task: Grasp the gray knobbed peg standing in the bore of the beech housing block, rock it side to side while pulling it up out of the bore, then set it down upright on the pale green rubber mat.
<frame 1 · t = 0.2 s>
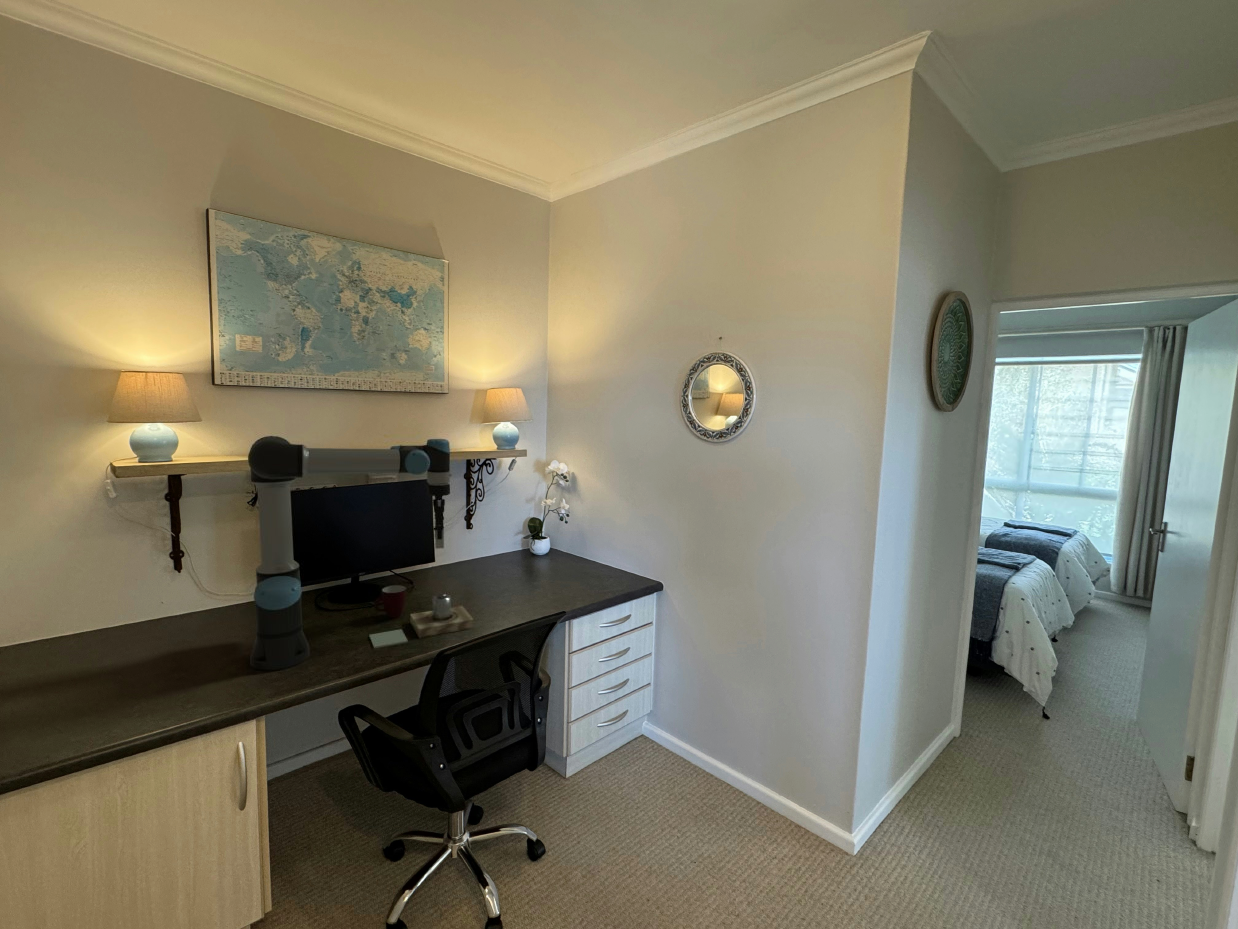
hand: (439, 543, 203), 27 cm above the table, fingers open, 13 cm apart
gray knobbed peg: (441, 610, 198), in the housing
housing: (441, 625, 198), on the table
mat: (388, 639, 186), on the table
mug: (390, 617, 204), on the table
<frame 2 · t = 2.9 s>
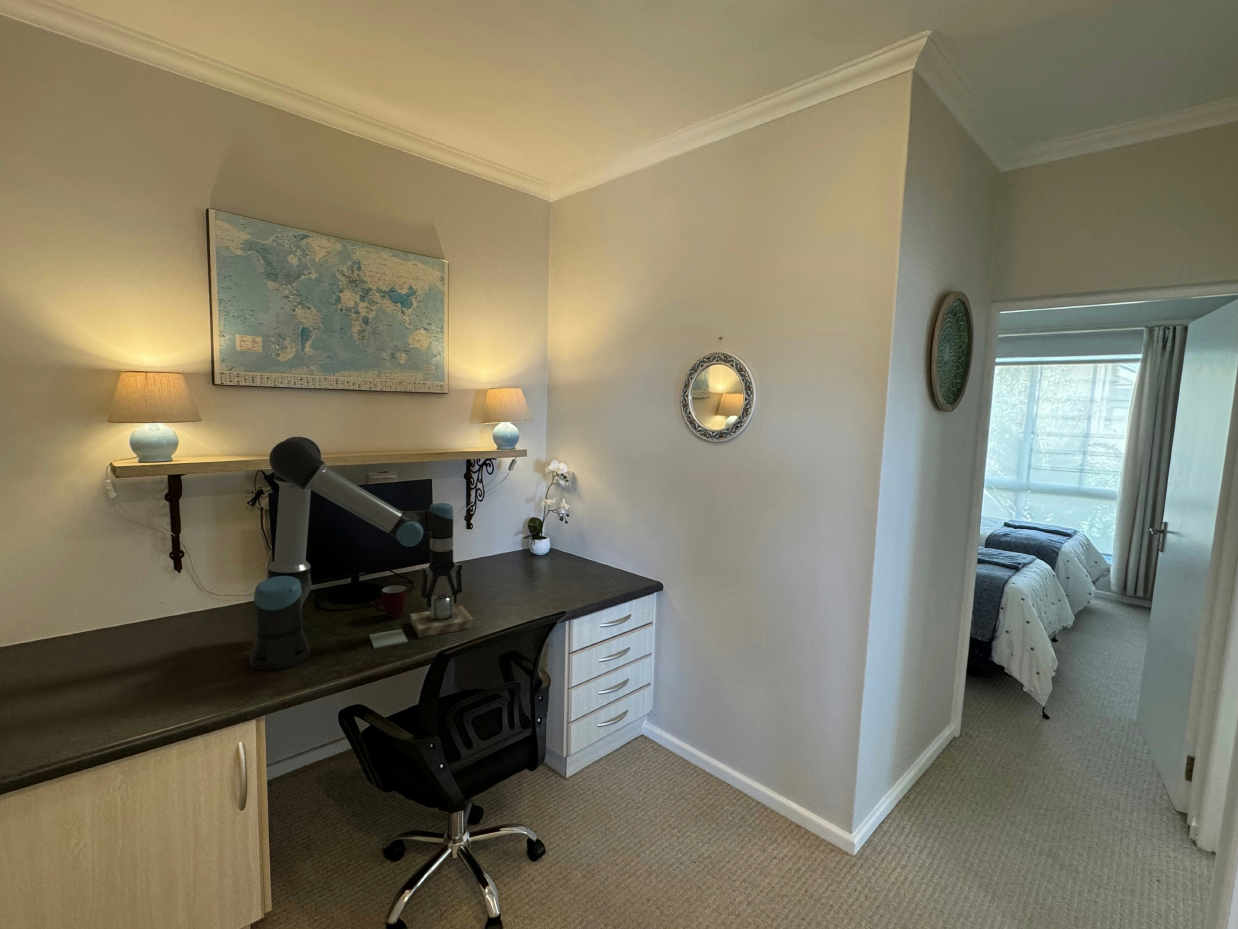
hand: (441, 614, 198), 4 cm above the table, fingers closed on gray knobbed peg, 6 cm apart
gray knobbed peg: (441, 609, 198), in the housing, touching gripper
everything else where it was.
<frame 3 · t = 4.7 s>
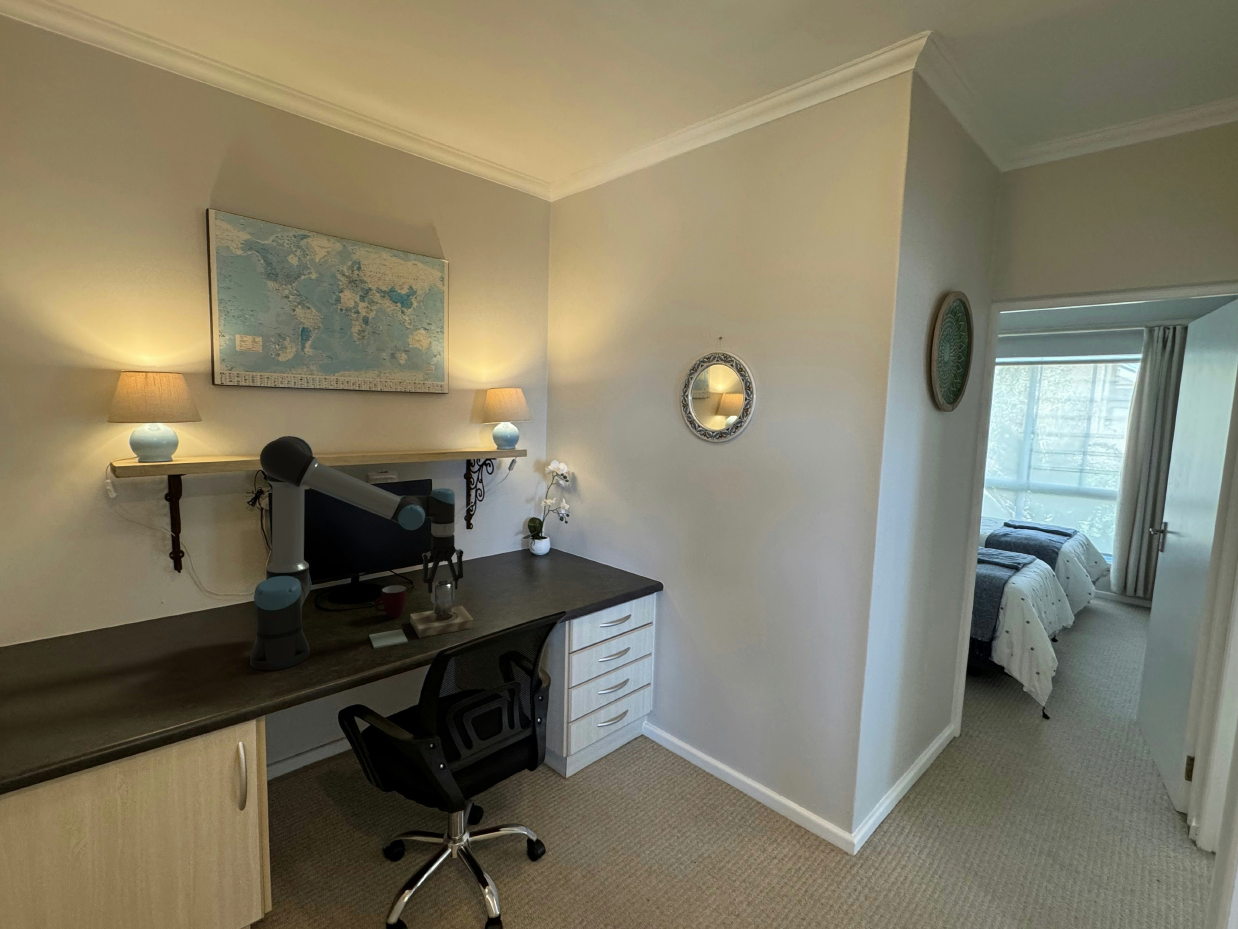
hand: (442, 600, 198), 9 cm above the table, fingers closed on gray knobbed peg, 6 cm apart
gray knobbed peg: (442, 596, 197), point 10 cm above the table, touching gripper
everything else where it was.
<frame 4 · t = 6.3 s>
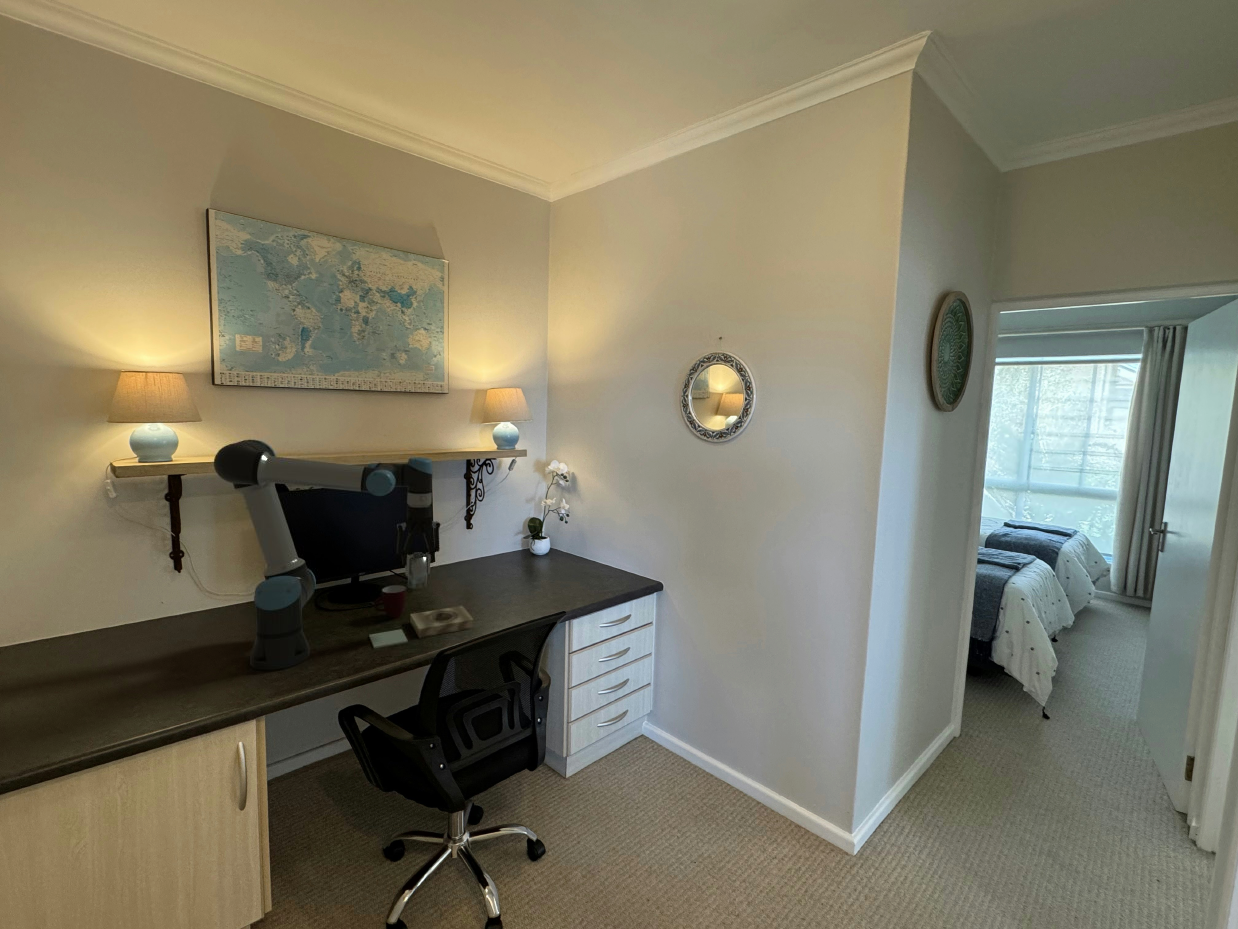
hand: (417, 573, 191), 20 cm above the table, fingers closed on gray knobbed peg, 6 cm apart
gray knobbed peg: (417, 569, 190), point 21 cm above the table, touching gripper
everything else where it was.
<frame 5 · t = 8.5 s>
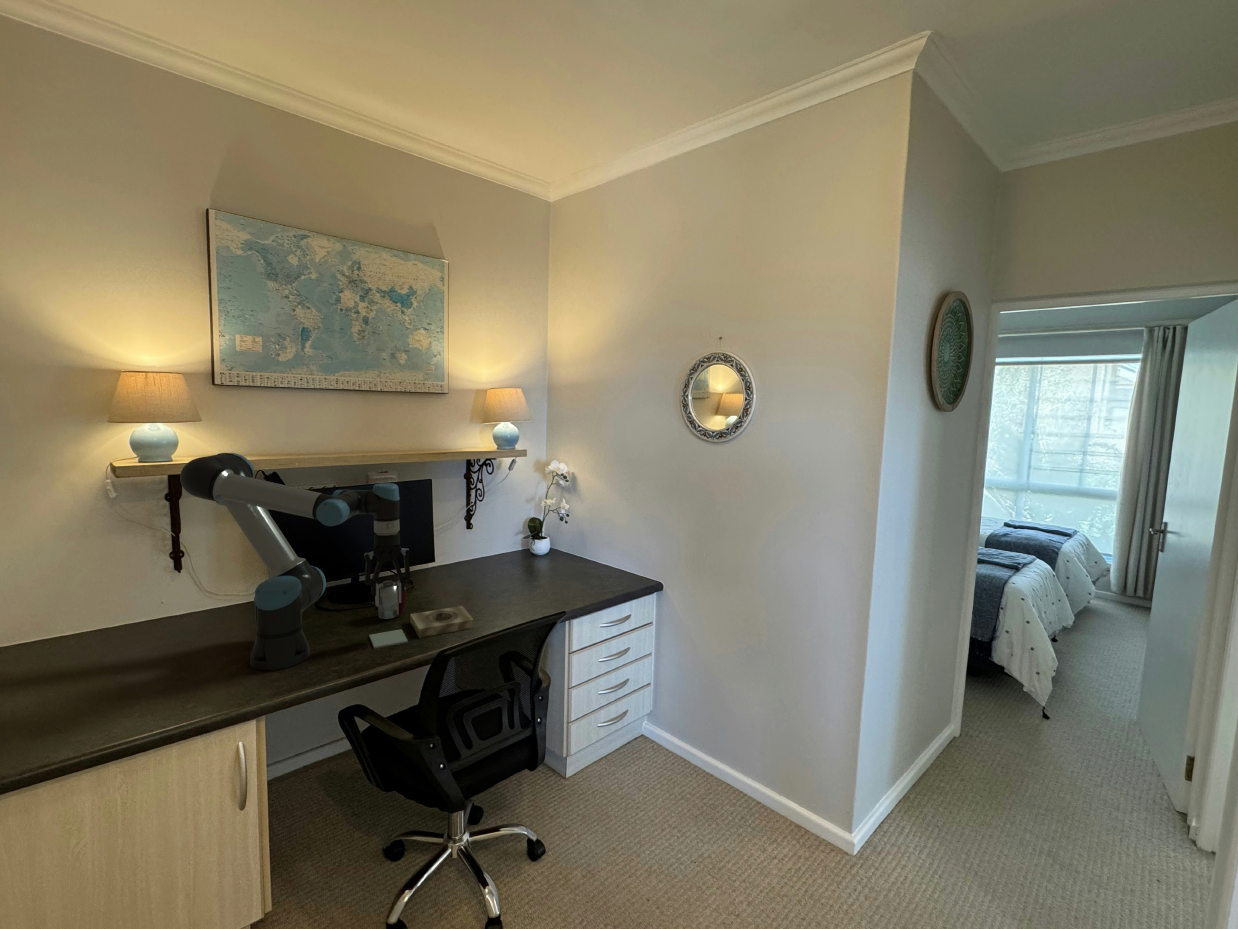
hand: (388, 603, 184), 12 cm above the table, fingers closed on gray knobbed peg, 6 cm apart
gray knobbed peg: (388, 598, 184), point 14 cm above the table, touching gripper
everything else where it was.
when the fingers open (6 cm above the table, at t = 10.0 s): gray knobbed peg drops 1 cm, resting on mat.
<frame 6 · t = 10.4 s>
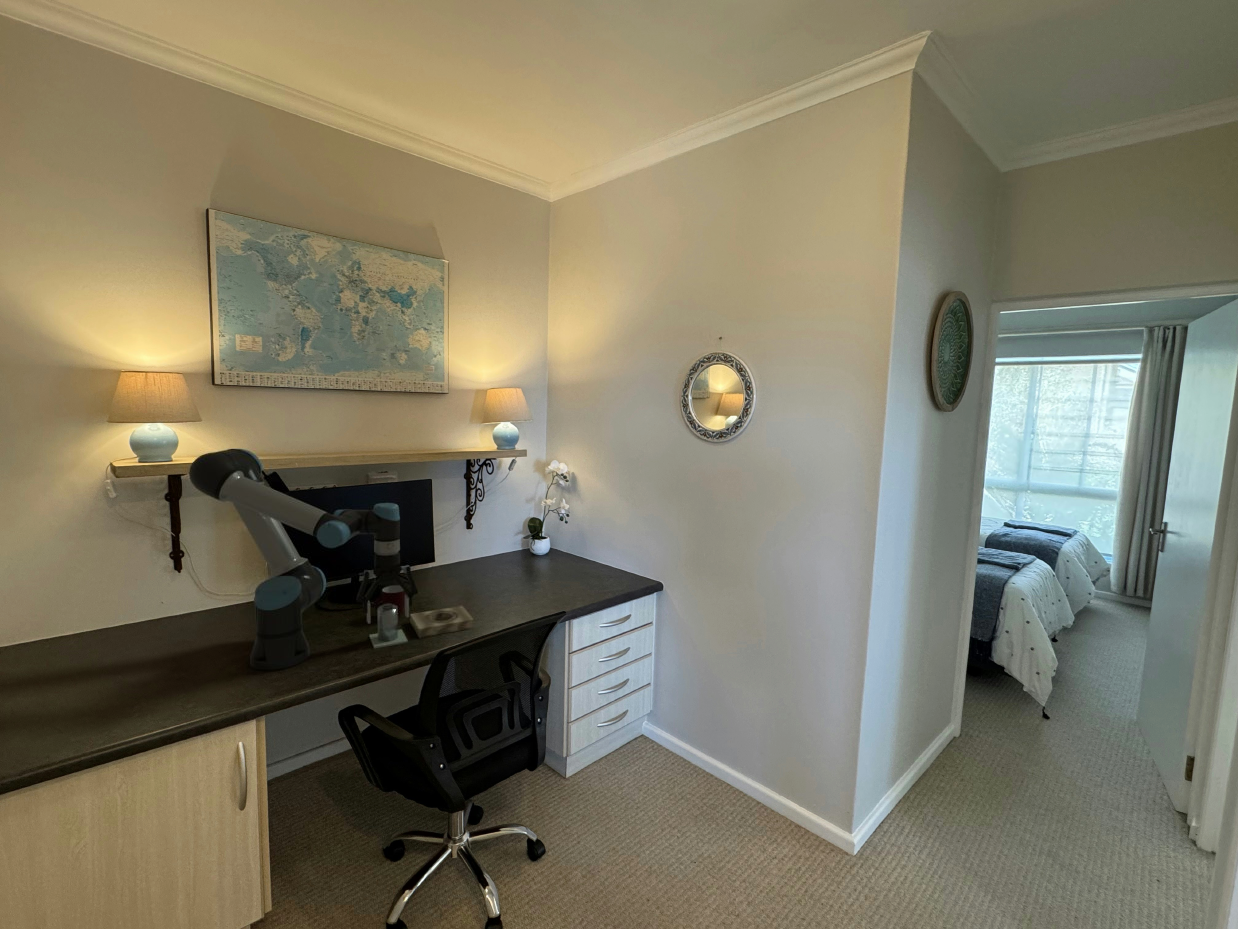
hand: (388, 618, 185), 7 cm above the table, fingers open, 11 cm apart
gray knobbed peg: (387, 621, 185), on the mat, point 6 cm above the table
everything else where it was.
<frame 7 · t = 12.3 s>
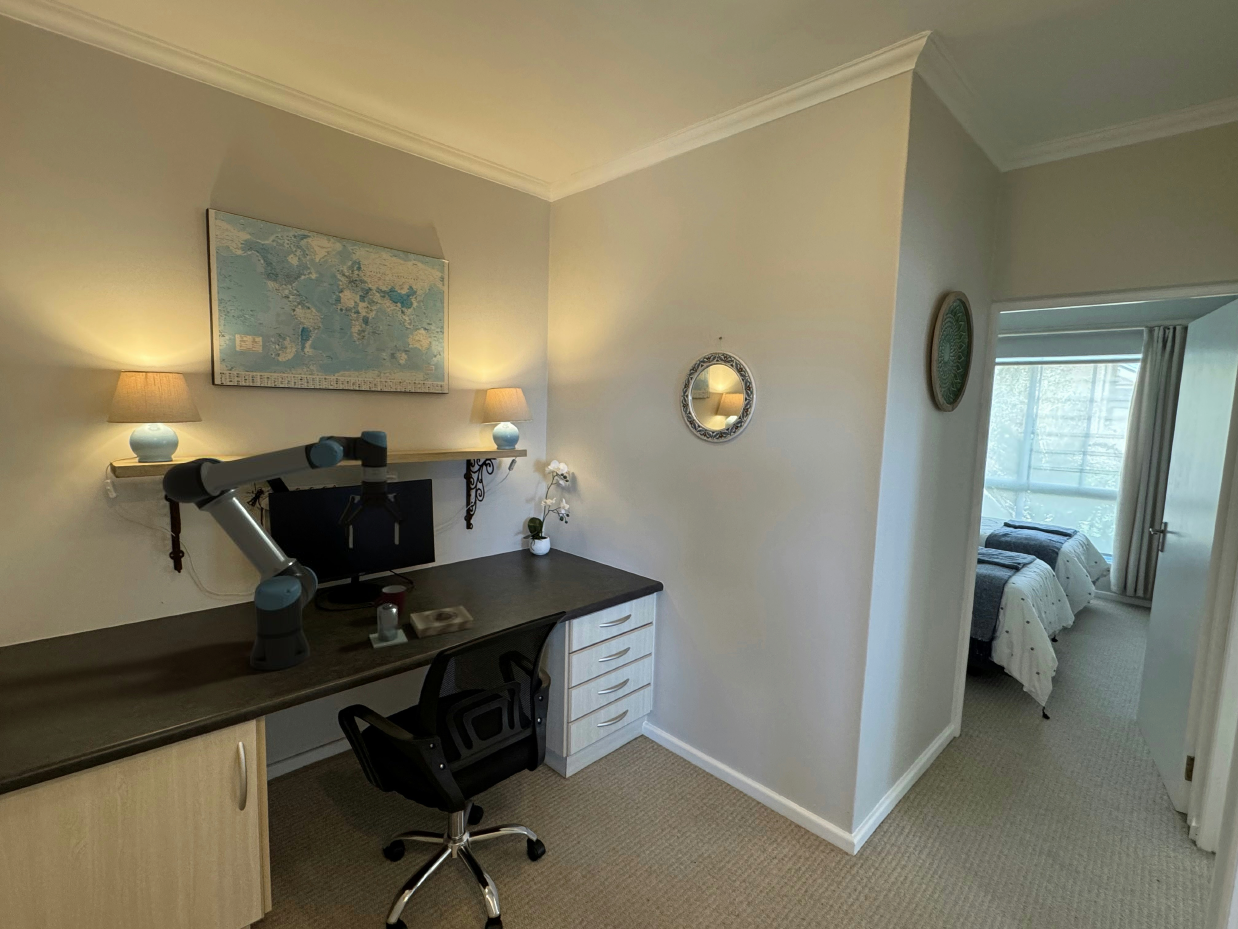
hand: (374, 545, 185), 30 cm above the table, fingers open, 13 cm apart
nothing on the table moved.
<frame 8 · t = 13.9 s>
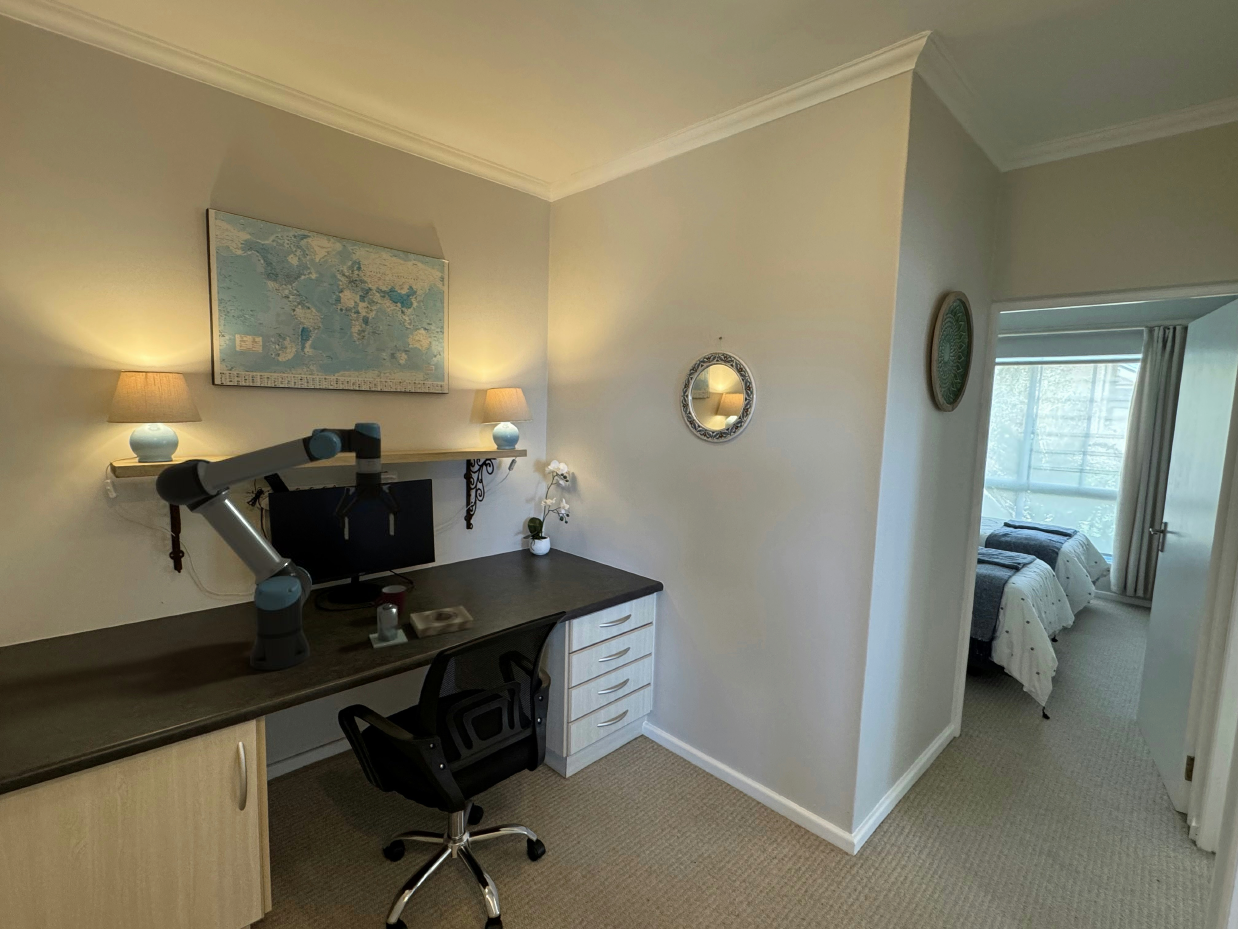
hand: (369, 536, 186), 33 cm above the table, fingers open, 13 cm apart
nothing on the table moved.
at the end: gray knobbed peg inside the target area on the mat (0.1 cm from its centre), point 6.1 cm above the mat's base; gray knobbed peg tilted 1°; gray knobbed peg touching mat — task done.
